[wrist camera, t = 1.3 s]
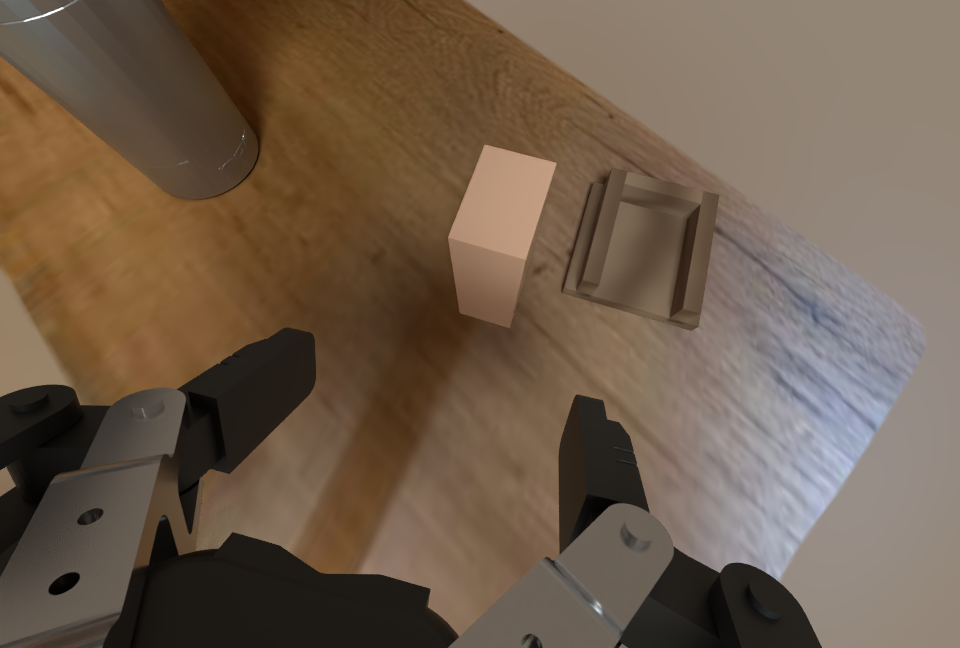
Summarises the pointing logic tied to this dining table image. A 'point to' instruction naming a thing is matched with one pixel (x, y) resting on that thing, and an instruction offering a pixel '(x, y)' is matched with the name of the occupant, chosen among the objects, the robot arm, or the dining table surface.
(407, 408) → the dining table surface
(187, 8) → the dining table surface
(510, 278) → the clay block
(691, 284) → the tray
